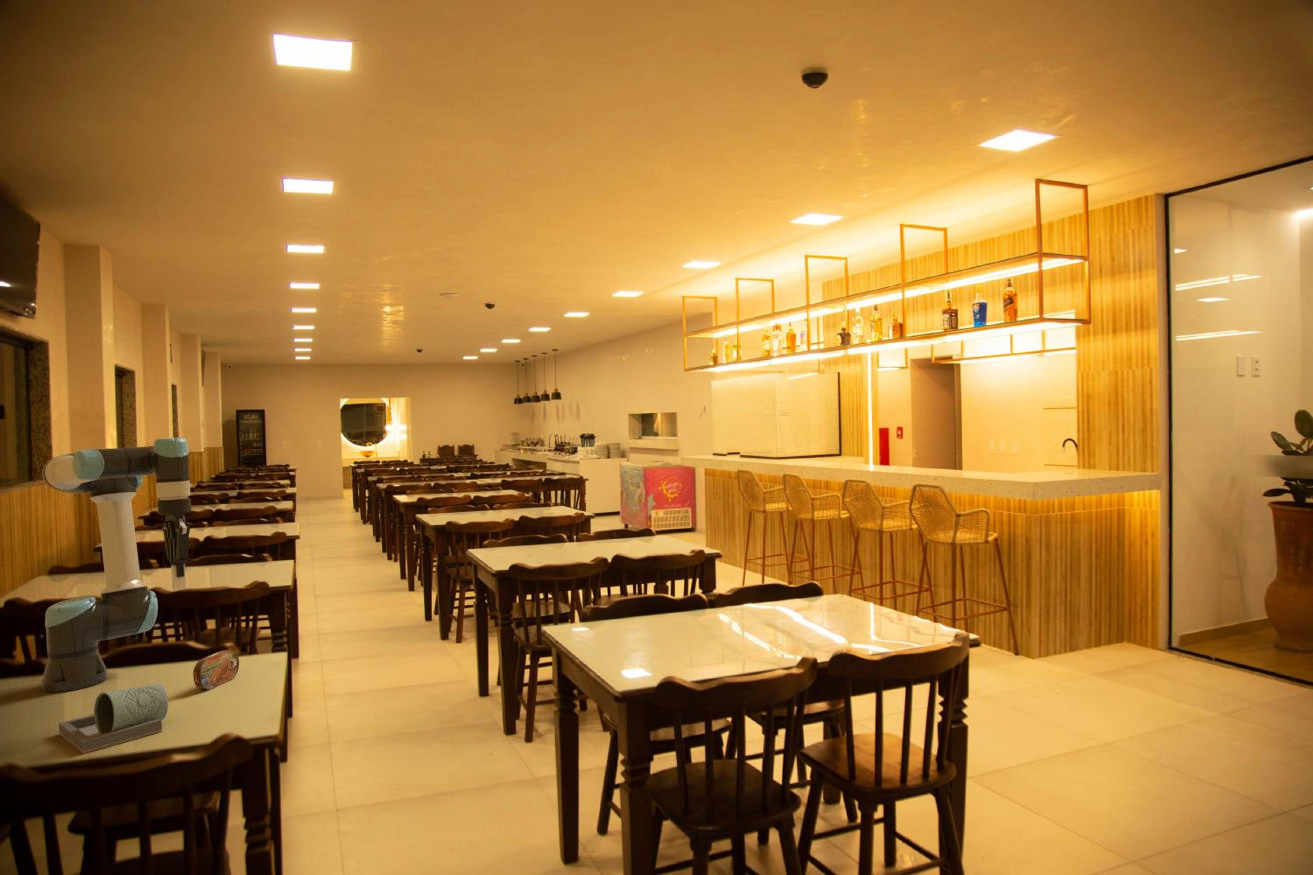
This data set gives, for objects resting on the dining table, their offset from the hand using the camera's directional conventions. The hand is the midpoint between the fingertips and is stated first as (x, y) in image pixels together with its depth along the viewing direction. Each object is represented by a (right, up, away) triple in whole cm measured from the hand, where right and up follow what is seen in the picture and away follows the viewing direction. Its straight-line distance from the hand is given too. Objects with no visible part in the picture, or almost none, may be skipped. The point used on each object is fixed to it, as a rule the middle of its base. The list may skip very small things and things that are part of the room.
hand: (179, 589), depth 219 cm
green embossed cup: (+5, -24, -17) cm, 30 cm away
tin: (+3, -28, +12) cm, 31 cm away
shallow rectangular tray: (-3, -29, -22) cm, 37 cm away
